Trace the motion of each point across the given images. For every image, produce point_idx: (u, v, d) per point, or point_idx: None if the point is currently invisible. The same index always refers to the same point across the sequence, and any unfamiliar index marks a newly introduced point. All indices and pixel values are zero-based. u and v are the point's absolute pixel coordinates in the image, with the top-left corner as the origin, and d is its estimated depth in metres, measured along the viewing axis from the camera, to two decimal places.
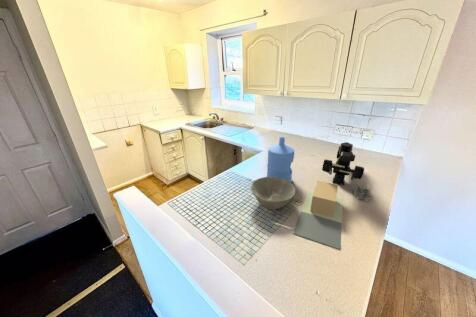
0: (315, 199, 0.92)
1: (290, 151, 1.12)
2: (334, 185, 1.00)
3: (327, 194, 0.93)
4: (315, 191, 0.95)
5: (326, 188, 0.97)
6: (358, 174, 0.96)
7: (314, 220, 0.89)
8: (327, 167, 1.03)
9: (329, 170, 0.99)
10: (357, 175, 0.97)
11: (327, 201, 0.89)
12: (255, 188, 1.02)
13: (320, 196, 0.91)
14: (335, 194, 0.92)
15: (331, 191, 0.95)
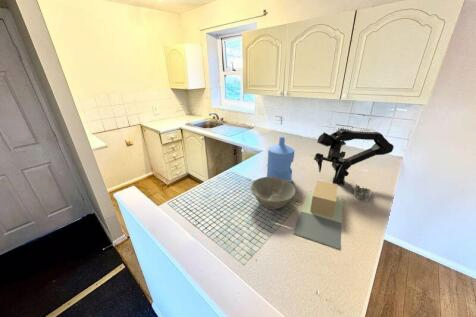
0: (315, 199, 0.92)
1: (290, 151, 1.12)
2: (334, 185, 1.00)
3: (327, 194, 0.93)
4: (315, 191, 0.95)
5: (326, 188, 0.97)
6: (345, 168, 1.07)
7: (314, 220, 0.89)
8: (318, 160, 1.11)
9: (319, 167, 1.10)
10: (344, 168, 1.08)
11: (327, 201, 0.89)
12: (255, 188, 1.02)
13: (320, 196, 0.91)
14: (335, 194, 0.92)
15: (331, 191, 0.95)
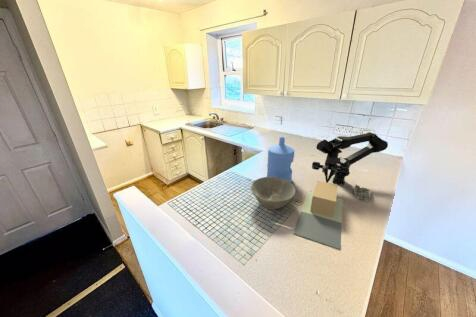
0: (315, 199, 0.92)
1: (290, 151, 1.12)
2: (334, 185, 1.00)
3: (327, 194, 0.93)
4: (315, 191, 0.95)
5: (326, 188, 0.97)
6: (335, 173, 1.08)
7: (314, 220, 0.89)
8: (324, 170, 1.10)
9: (325, 177, 1.08)
10: (334, 173, 1.08)
11: (327, 201, 0.89)
12: (255, 188, 1.02)
13: (320, 196, 0.91)
14: (335, 194, 0.92)
15: (331, 191, 0.95)
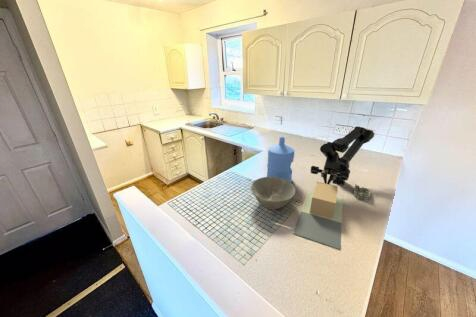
0: (314, 201, 0.91)
1: (290, 151, 1.12)
2: (334, 186, 0.99)
3: (327, 195, 0.92)
4: (315, 192, 0.94)
5: (326, 190, 0.96)
6: (334, 177, 1.03)
7: (314, 220, 0.89)
8: (323, 175, 1.06)
9: (324, 182, 1.04)
10: (333, 178, 1.04)
11: (326, 202, 0.88)
12: (255, 188, 1.02)
13: (320, 197, 0.90)
14: (335, 195, 0.91)
15: (331, 192, 0.94)
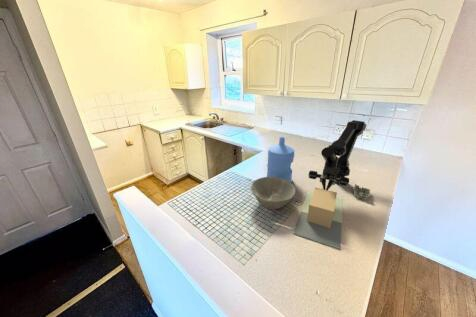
0: (311, 209, 0.86)
1: (290, 151, 1.12)
2: (333, 193, 0.93)
3: (325, 203, 0.86)
4: (312, 199, 0.89)
5: (324, 197, 0.91)
6: (333, 183, 0.98)
7: None
8: (321, 180, 1.00)
9: (323, 187, 0.98)
10: (333, 183, 0.99)
11: (324, 210, 0.83)
12: (255, 188, 1.02)
13: (317, 205, 0.85)
14: (333, 203, 0.86)
15: (329, 199, 0.89)
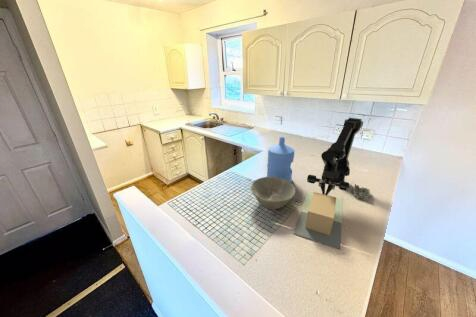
0: (310, 215, 0.82)
1: (290, 151, 1.12)
2: (333, 198, 0.90)
3: (324, 209, 0.83)
4: (311, 205, 0.85)
5: (323, 202, 0.87)
6: (333, 188, 0.94)
7: None
8: (321, 185, 0.97)
9: (322, 192, 0.95)
10: (332, 188, 0.95)
11: (323, 217, 0.79)
12: (255, 188, 1.02)
13: (316, 211, 0.81)
14: (333, 209, 0.82)
15: (329, 205, 0.85)
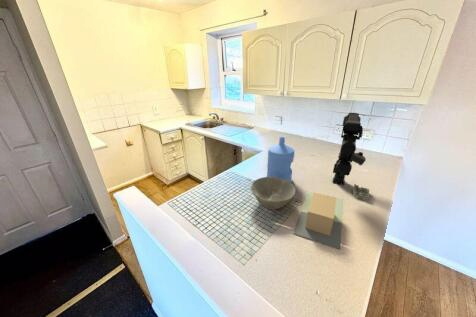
0: (310, 215, 0.82)
1: (290, 151, 1.12)
2: (333, 198, 0.89)
3: (324, 209, 0.82)
4: (311, 205, 0.85)
5: (323, 202, 0.87)
6: None
7: None
8: None
9: (342, 171, 0.99)
10: None
11: (323, 217, 0.79)
12: (255, 188, 1.02)
13: (316, 211, 0.81)
14: (333, 209, 0.82)
15: (329, 205, 0.85)
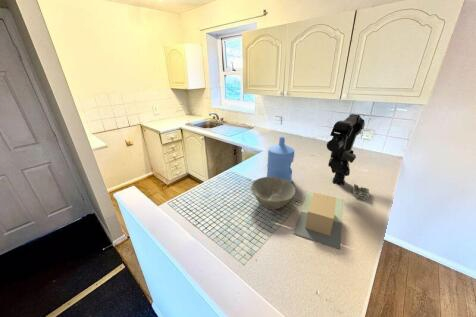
0: (310, 215, 0.82)
1: (290, 151, 1.12)
2: (333, 198, 0.89)
3: (324, 209, 0.82)
4: (311, 205, 0.85)
5: (323, 202, 0.87)
6: None
7: None
8: None
9: (334, 169, 1.04)
10: None
11: (323, 217, 0.79)
12: (255, 188, 1.02)
13: (316, 211, 0.81)
14: (333, 209, 0.82)
15: (329, 205, 0.85)
